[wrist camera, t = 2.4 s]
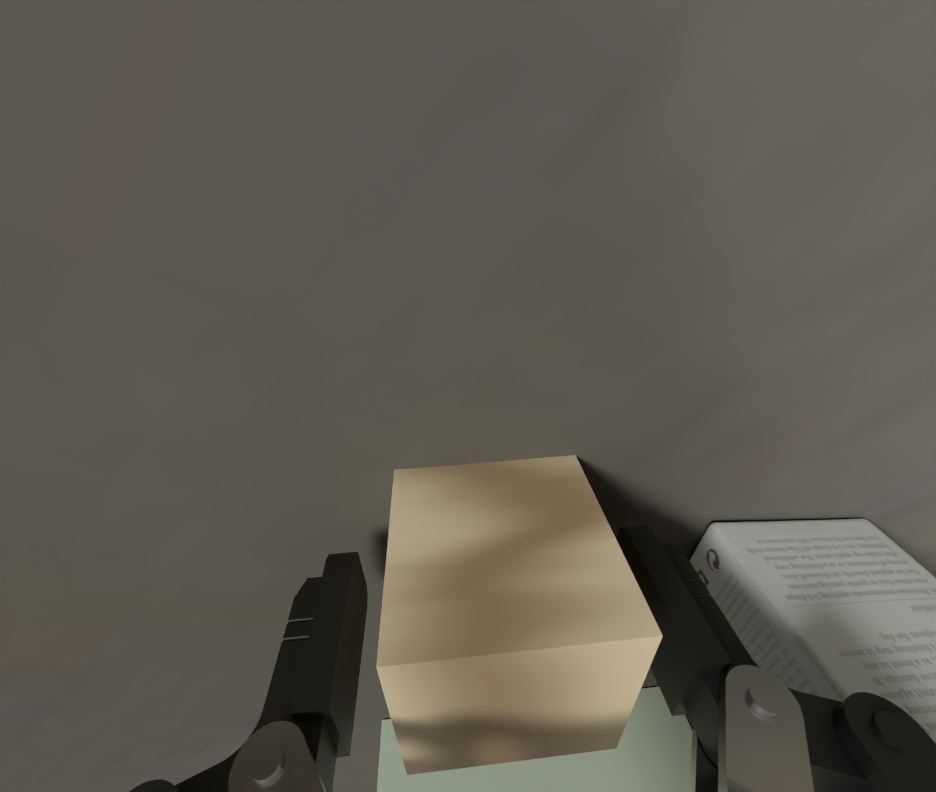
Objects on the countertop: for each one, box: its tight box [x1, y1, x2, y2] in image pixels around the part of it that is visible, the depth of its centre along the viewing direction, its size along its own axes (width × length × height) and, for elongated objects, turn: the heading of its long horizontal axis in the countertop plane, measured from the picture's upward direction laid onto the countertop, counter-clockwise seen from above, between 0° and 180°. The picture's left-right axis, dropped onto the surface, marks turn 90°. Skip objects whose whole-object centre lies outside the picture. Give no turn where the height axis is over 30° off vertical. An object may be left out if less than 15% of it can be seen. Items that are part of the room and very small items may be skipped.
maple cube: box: [376, 455, 663, 775], centre depth 11 cm, size 5×5×5 cm
